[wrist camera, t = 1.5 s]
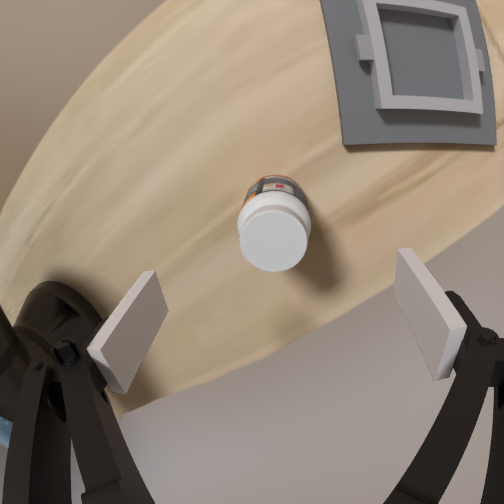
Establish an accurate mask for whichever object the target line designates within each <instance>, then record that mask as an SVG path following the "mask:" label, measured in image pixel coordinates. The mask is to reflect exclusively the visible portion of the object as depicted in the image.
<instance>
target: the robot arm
mask: <svg viewBox="0 0 504 504" xmlns="http://www.w3.org/2000/svg"><path fill="white" fill-rule="evenodd" d="M394 295H395V297H396V299H397V301H398V303H399V305H400V307H401V309H402V311H403V313H404V315H405V317H406V319H407V321H408V324H409V326H410V328H411V330H412V332H413V334H414V337H415V339H416V341H417V343H418V345H419V348H420V350H421V352H422V355H423V357H424V359H425V362H426V364H427V366H428V369H429V371H430V373H431V376H432V378H433V381H436V380H440V379H444V378H448V377H450V374H451V371H452V369H453V368H454V370H455V372H456V377H455V379H454V382H453V384H452V386H451V388H450V391H449V393H448V395H447V398H446V400H445V402H444V404H443V406H442V408H441V410H440V412H439V414H438V416H437V418H436V420H435V422H434V424H433V426H432V428H431V430H430V431H429V433H428V435H427V437H426V439H425V441H424V442H423V444H422V446H421V448H420V449H419V451H418V453H417V454H416V456H415V458H414V460H413V461H412V463H411V464H410V466H409V467H408V469H407V470H406V472H405V474H404V475H403V476H402V478H401V480H400V481H399V483H398V484H397V485H396V487H395V488H394V490H393V491H392V492H391V494H390V495H389V497H388V498H387V499H386V501H385V502H384V503H383V504H438V503H439V501H440V499H441V497H442V495H443V494H444V492H445V490H446V488H447V486H448V484H449V482H450V480H451V478H452V477H453V475H454V473H455V471H456V469H457V467H458V465H459V462H460V460H461V458H462V456H463V454H464V452H465V449H466V447H467V445H468V442H469V440H470V438H471V435H472V433H473V430H474V428H475V425H476V422H477V420H478V417H479V414H480V411H481V408H482V405H483V402H484V399H485V396H486V393H487V390H488V387H494V408H493V426H492V437H491V446H490V455H489V462H488V468H487V474H486V480H485V485H484V490H483V495H482V499H481V503H480V504H504V338H499V336H498V335H497V333H495V332H494V331H493V330H491V329H489V328H484V327H482V326H481V325H480V324H479V322H478V321H477V319H476V318H475V316H474V315H473V314H472V312H471V311H470V310H469V308H468V307H467V305H466V304H465V303H464V301H463V300H462V298H461V297H460V296H459V295H457V294H456V293H454V292H453V291H446V292H444V291H443V290H442V289H441V287H440V286H439V284H438V283H437V282H436V280H435V279H434V278H433V276H432V275H431V274H430V272H429V271H428V270H427V268H426V267H425V266H424V264H423V263H422V262H421V260H420V259H419V258H418V257H417V255H416V254H415V253H414V252H413V250H412V249H411V248H402V249H397V262H396V275H395V288H394ZM167 313H168V308H167V305H166V302H165V299H164V296H163V293H162V290H161V287H160V284H159V281H158V278H157V275H156V271H146V272H143V273H142V274H141V276H140V277H139V278H138V280H137V281H136V282H135V283H134V285H133V286H132V287H131V289H130V290H129V291H128V293H127V294H126V295H125V296H124V298H123V299H122V300H121V302H120V303H119V304H118V306H117V307H116V308H115V310H114V311H113V312H112V314H111V315H110V317H107V318H105V319H104V320H103V321H102V320H101V318H100V317H99V315H98V314H97V312H96V311H95V310H94V309H93V307H92V306H91V305H90V304H89V303H88V302H87V301H86V300H85V299H84V298H83V297H82V296H81V295H79V294H78V293H77V292H75V291H74V290H72V289H71V288H69V287H67V286H65V285H63V284H61V283H57V282H53V281H46V282H42V283H40V284H38V285H37V286H36V287H35V288H34V289H33V290H32V291H31V292H30V293H29V294H28V296H27V297H26V299H25V302H24V304H23V306H22V308H21V310H20V313H19V315H18V317H17V320H16V322H15V324H14V326H13V327H12V326H11V324H10V322H9V320H8V318H7V317H6V315H5V313H4V311H3V309H2V307H1V305H0V444H1V445H2V446H4V447H6V448H7V449H8V453H7V460H6V468H5V476H4V486H3V499H2V504H72V501H71V475H70V474H71V471H70V457H71V456H70V455H71V439H72V442H73V447H74V451H75V455H76V459H77V462H78V466H79V469H80V473H81V476H82V480H83V483H84V486H85V490H86V491H85V493H82V494H81V500H82V504H155V502H154V500H153V499H152V497H151V495H150V493H149V491H148V489H147V488H146V485H145V483H144V482H143V479H142V477H141V475H140V473H139V471H138V469H137V467H136V465H135V463H134V461H133V458H132V456H131V454H130V452H129V449H128V447H127V445H126V442H125V440H124V438H123V435H122V433H121V430H120V428H119V425H118V423H117V420H116V417H115V415H114V412H113V409H112V407H111V404H110V401H109V398H108V395H107V393H106V392H105V390H104V389H105V387H106V385H107V384H108V386H109V387H110V389H111V391H112V392H113V393H120V394H126V393H127V391H128V389H129V387H130V385H131V383H132V381H133V379H134V377H135V375H136V373H137V371H138V369H139V367H140V365H141V363H142V361H143V359H144V357H145V355H146V353H147V351H148V349H149V347H150V345H151V343H152V342H153V340H154V338H155V336H156V334H157V332H158V330H159V328H160V326H161V324H162V322H163V320H164V319H165V317H166V315H167Z"/></svg>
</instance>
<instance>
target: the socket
mask: <svg viewBox="0 0 504 504" xmlns="http://www.w3.org/2000/svg"><path fill="white" fill-rule="evenodd" d="M320 4H321V8H322V13H323V18H324V22H325V27H326V32H327V38H328V43H329V48H330V54H331V60H332V66H333V72H334V78H335V85H336V92H337V100H338V107H339V115H340V124H341V133H342V143H343V145H355V144H377V143H464V144H483V145H497V140H496V115H495V101H494V91H493V82H492V75H491V68H490V61H489V55H488V50H487V45H486V40H485V35H484V31H483V27H482V22H481V18H480V15H479V11H478V7H477V4H476V1H475V0H320Z"/></svg>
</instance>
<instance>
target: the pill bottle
mask: <svg viewBox="0 0 504 504" xmlns="http://www.w3.org/2000/svg"><path fill="white" fill-rule="evenodd" d="M237 231H238V235H239V238H240V248H241V251H242V253H243V255H244V257H245V258H246V259H247V261H248V262H249V263H250V264H252V265H253V266H254V267H256V268H258V269H260V270H263V271H266V272H281V271H285V270H288V269H290V268H292V267H294V266H295V265H296V264H297V263H299V262H300V260H301V259H302V258H303V256H304V254H305V252H306V249H307V244H308V238H309V236H310V232H311V217H310V214H309V211H308V207H307V204H306V200H305V196H304V194H303V192H302V190H301V188H300V186H299V185H298V184H297V183H296V182H295V181H294V180H293V179H291V178H289V177H287V176H285V175H281V174H270V175H266V176H263V177H261V178H259V179H258V180H256V181H255V182H254V183H253V184H252V185H251V187H250V188H249V190H248V192H247V195H246V197H245V200H244V203H243V205H242V208H241V211H240V213H239V217H238V220H237Z"/></svg>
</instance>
